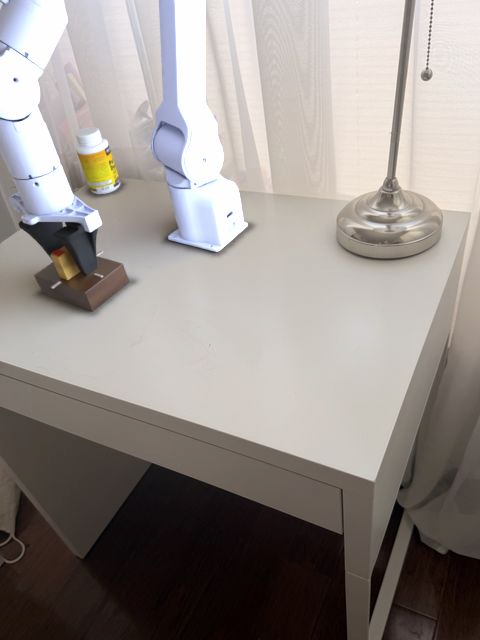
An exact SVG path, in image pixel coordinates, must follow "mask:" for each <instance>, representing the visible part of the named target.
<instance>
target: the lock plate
mask: <svg viewBox="0 0 480 640" xmlns="http://www.w3.org/2000/svg"><path fill="white" fill-rule="evenodd" d="M103 253H104V250H100V251H99V252H96V255H97V266H98V268H97V269H96V270H95V271H93V272H92V273H91V274H89V275H88V276H85V275H83V274H82V273H81V271H80V272H79V273H78V274H76V275H75V276H73V277H72V278H71V279H69V280H65V279H63V278H60V276H59V274H58V272H57V270H56V267H55V265H54V263H53V262H51V263H50V264H48V265H47V266H45V267H44V268H42V269H41V270H39V271H38V272H37V273H35V274H34V275H33V277H34V278H35V280H36V282H37V284H38V287H39V289H40V291H41V292H42V294H44V295H46V296H49V297H53V298H54V299H58V300H61V301H63V302H66V303H68V304H71V305H74V306H76V307H80V308H82V309H85V310H87V311H90V312H94V311H95V310H97V309H98V308H100V307H101V305H103V304H104V303H106V302H107V301H108V300H109V299H111V297H113V296H114V295H115V294H117V293H118V292H119V291H120V290H121V289H123V288H124V287H125V286H126V285H128V284H129V283H130V280H129V277H128V273H127V271H126V268H125V266H124V263H123V262H122V263H121V262H119V261H115V260H112V259H108V258H105V257H102V256H100V255H101V254H103Z"/></svg>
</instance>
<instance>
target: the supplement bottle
mask: <svg viewBox="0 0 480 640" xmlns="http://www.w3.org/2000/svg"><path fill="white" fill-rule="evenodd" d="M75 137H76V140H77V144H76V145H75V151H76V155H77V157H78V159H79V163H80V166H81V168H82V171H83V174H84V177H85V179H86V182H87V185H88V188H89V189H90V192H91V193H93V194H95V195H107V194H110V193H112V192H115V191H116V190H118V189H119V187H120V186H121V179H120V176H119V173H118V170H117V166H116V162H115V160H114V157H113V153H112V150H111V147H110V144H109V141H108V139H106V138H104V137H102V133H101V131H100V129H99V127H97V126H88V127H84V128H81V129H79V130H78V131H76V132H75Z"/></svg>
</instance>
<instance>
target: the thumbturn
mask: <svg viewBox="0 0 480 640" xmlns="http://www.w3.org/2000/svg"><path fill="white" fill-rule="evenodd" d="M50 256H51V258H52V259H51V258H50V259H51V261H52V263H54V265H55V267H56V270H57V272H58V274H59V276H60V278H63V279H65V280H69V279H71V278H72V277H73V276H75V275H76V274H78V273H79V272H80V270H79V268H78V267H77V265H76V263H75V261H74V259H73V257H72V256H71V254H70V253H69V251H68V250H67V249H66V247H65V246H63V247H62V248H60V249H59V250H58V249H56V250H55V251H53V252H52V253H51V255H50Z"/></svg>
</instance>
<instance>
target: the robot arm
mask: <svg viewBox="0 0 480 640" xmlns="http://www.w3.org/2000/svg"><path fill="white" fill-rule="evenodd" d="M0 3H1V4H2V5H1V7H0V155H1V156H2V159H3V161H4V163H5V165H6V167H7V170H8V172H9V175H10V176H11V179H12V181H13V183H14V185H15V188H16V189H17V192H16V193H14V194H12V195H10V196H8V197H7V199H8V201H9V203H10V206H11V207H12V209H13V211H14V212H16V213H21V212H22V213H23V214H22V215H21V216H20V221H18V226H19V228H20V229H21V230H23V232H25V233H27V235H29V236H30V237H31V238H32V239H34V240H35V242H37V244H38V245H39V246H40V247H41V248H42V249H43V251H44V252H45V254H46V255H47V256H48V257H49V258H50V260H52V258H51V256H50V255H51V253H52V252H53V251H55V250H56V249H58V250H59V249H60V248H62V247H63V246H65V247H66V249H67V250H68V251H69V253H70V254H71V256H72V257H73V259H74V261H75V263H76V265H77V267H78V268H79V270H80V271H81V273H82V274H83V275H85V276H88V275H89V274H91V273H92V272H93V271H95V270H96V269H97V268H98V266H97V255H96V254H97V237H98V236H97V235H98V231H99V227H101V226H102V225H103V222H102V219H101V216H100V214H99V211H98V210H97V209H94V208H93V207H91V206H89V205H87V203H85V202H83V200H82V199H80V198H79V197H78V196H77V195H75V194H74V193H73V191H72V188H71V185H70V183H69V180H68V178H67V175H66V173H65V170H64V168H63V165H62V163H61V160H60V157H59V155H58V152H57V150H56V147H55V145H54V142H53V139H52V136H51V134H50V131H49V129H48V126H47V123H46V122H45V121H44V119H43V116H42V113H41V111H40V109H39V106H38V105H39V104H40V100H41V88H40V84H39V81H38V80H39V78H40V77H42V75H43V74H44V71H45V69H46V67H47V65H48V63H49V61H50V59H51V58H52V55H53V53H54V51H55V48H56V47H57V46H58V43H59V40H60V39H61V37H62V35H63V33H64V31H65V28H66V26H67V24H68V22H69V18H68V13H67V9H66V5H65V0H0ZM158 12H159V14H158V15H159V37H160V60H161V80H162V81H161V82H162V83H161V85H162V101H161V103H160V104H159V106H158V107H157V109H156V110H155V123H154V124H155V125H154V129H153V132H152V134H151V137H150V151H151V154H152V156H153V158H154V159H155V161H157V162H158V163H159V164H160V165H162V166H163V168H164V172H165V181H166V184H167V188H168V192H169V197H170V201H171V204H172V208H173V212H174V216H175V219H176V224H177V227H178V228H177V229H175V230H174V231H173V232H171V233H170V234H169V235H168V236H167V239H168V240H169V241H173V242H176V243H179V244H184V245H188V246H191V247H196V248H199V249H204V250H207V251H211V252H216V253H218V252H220V251H221V250H222V249H224V247H226V246H227V245H228V244H229V243H230V242H232V241H233V240H234V239H235V238H236V237H238V235H239V234H241V233H242V232H243V231H244V230H245V229H246V228H247V227H248V226H249V224H248V222H247V221H245V220H244V214H243V208H242V201H241V195H240V189H239V188H238V185H237V184H236V182H234V181H232V180H230V179H227V178H226V177H224V176H222V174H220V171H221V169H222V168H223V163H224V150H223V146H222V144H221V141H220V139H219V132H218V129H219V128H218V122H217V120H216V119H215V117H214V115H213V113H212V112H211V109H210V108H209V106H208V104H207V99H206V96H207V95H206V94H207V93H206V89H207V88H206V86H207V83H206V82H207V81H206V79H207V78H206V77H207V73H206V69H207V68H206V66H207V65H206V64H207V63H206V62H207V60H206V59H207V58H206V57H207V56H206V55H207V54H206V45H207V44H206V43H207V42H206V39H207V38H206V33H207V31H206V26H207V25H206V14H207V13H206V0H158ZM64 224H65V225H64Z"/></svg>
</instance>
